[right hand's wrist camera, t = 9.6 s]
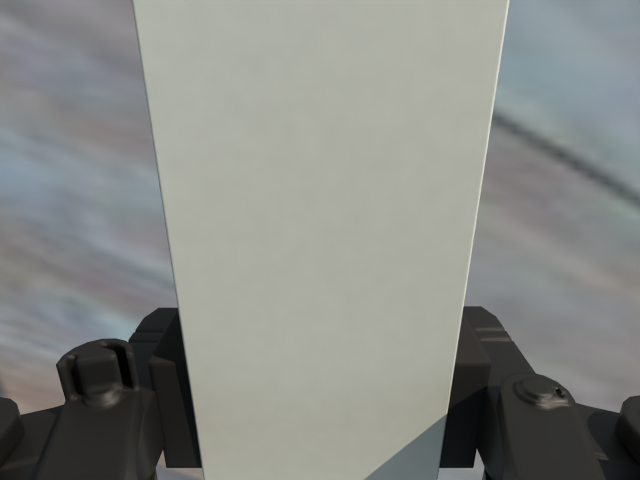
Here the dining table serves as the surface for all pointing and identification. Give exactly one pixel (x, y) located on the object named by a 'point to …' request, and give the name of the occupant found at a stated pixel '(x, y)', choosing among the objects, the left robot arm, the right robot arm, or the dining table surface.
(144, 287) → the dining table surface
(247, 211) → the plank
